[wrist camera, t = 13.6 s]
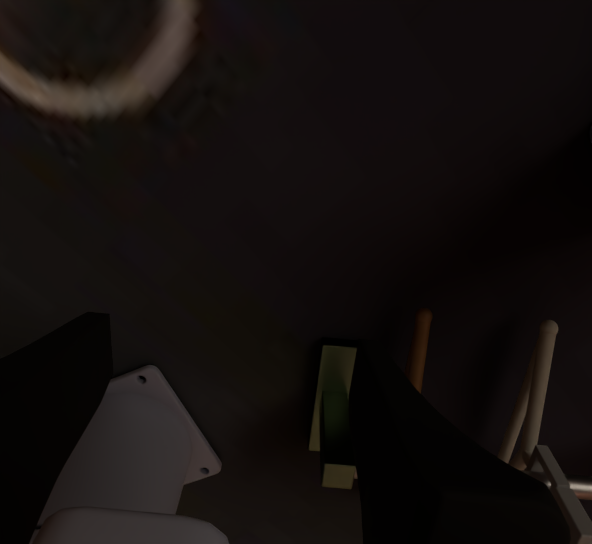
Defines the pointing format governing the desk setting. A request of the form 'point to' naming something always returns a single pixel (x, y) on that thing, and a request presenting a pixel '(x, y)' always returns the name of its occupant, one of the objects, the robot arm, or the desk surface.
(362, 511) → the robot arm
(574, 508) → the white hanger
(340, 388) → the rail
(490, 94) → the desk surface
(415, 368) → the beech hanger
